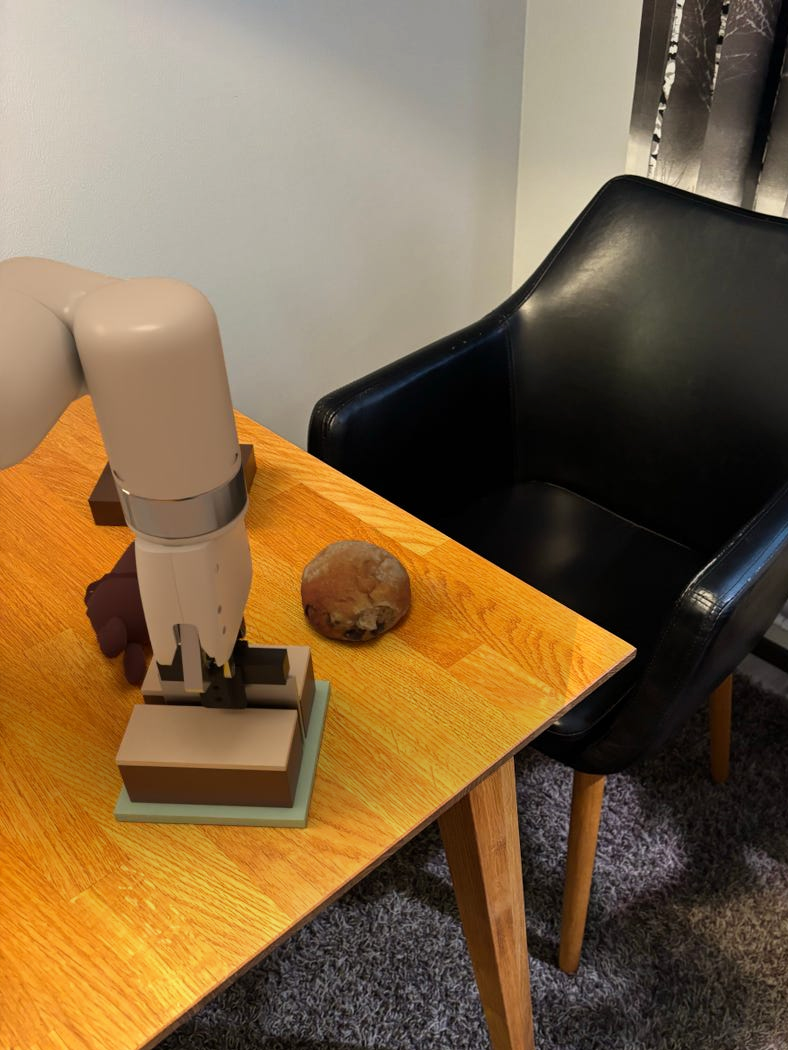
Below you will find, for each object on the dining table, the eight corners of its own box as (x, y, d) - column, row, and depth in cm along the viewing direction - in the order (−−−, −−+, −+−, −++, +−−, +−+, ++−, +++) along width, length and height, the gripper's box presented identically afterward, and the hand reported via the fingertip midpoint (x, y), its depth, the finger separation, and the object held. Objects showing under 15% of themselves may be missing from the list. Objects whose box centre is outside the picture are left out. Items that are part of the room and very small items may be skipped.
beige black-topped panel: (174, 747, 77) (148, 661, 71) (179, 729, 79) (155, 643, 72) (303, 752, 77) (289, 666, 71) (307, 734, 79) (293, 648, 72)
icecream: (75, 526, 88) (55, 656, 79) (154, 504, 88) (143, 632, 78) (114, 577, 94) (99, 705, 84) (189, 557, 93) (182, 683, 83)
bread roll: (418, 619, 95) (424, 538, 93) (393, 655, 86) (400, 565, 83) (317, 605, 96) (321, 524, 94) (282, 639, 87) (285, 549, 84)
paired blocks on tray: (116, 821, 74) (96, 770, 70) (163, 682, 84) (148, 631, 80) (305, 828, 74) (297, 778, 70) (330, 688, 84) (324, 637, 80)
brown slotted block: (95, 525, 99) (87, 500, 96) (125, 463, 106) (118, 439, 104) (237, 530, 99) (232, 505, 96) (257, 468, 106) (253, 444, 104)
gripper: (155, 417, 67) (202, 618, 80) (81, 571, 56) (150, 776, 68) (267, 420, 67) (296, 621, 80) (216, 575, 55) (260, 780, 68)
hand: (229, 691), depth 74 cm, fingers closed on beige black-topped panel, 1 cm apart
